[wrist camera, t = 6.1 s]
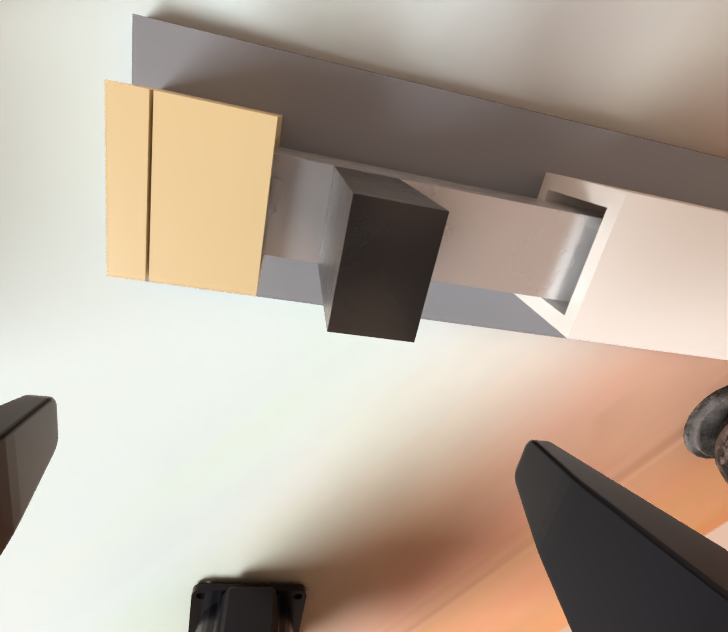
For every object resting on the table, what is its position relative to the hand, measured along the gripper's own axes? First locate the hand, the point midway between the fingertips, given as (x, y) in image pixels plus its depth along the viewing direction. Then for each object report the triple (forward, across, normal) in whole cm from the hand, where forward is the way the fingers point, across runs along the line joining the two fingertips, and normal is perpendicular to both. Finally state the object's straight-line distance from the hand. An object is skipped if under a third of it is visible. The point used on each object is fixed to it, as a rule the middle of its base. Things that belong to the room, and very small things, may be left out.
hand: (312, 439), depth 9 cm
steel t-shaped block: (+10, -4, -3) cm, 11 cm away
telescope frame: (+12, -7, -3) cm, 14 cm away
